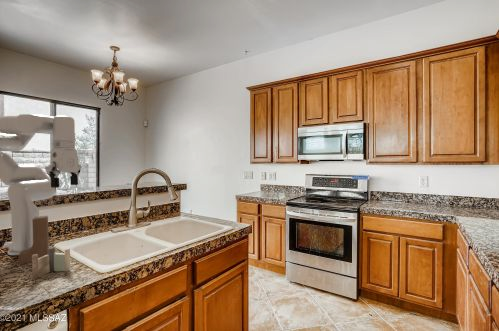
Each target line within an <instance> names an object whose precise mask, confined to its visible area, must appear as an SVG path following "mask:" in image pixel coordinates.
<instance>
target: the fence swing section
mask: <svg viewBox="0 0 499 331" xmlns="http://www.w3.org/2000/svg"><path fill="white" fill-rule="evenodd" d="M54 271H55V272H66V273H67V272H70V271H71V248H65V249H64V253H63V252H61V253H60V252H56V253H55V254H54Z"/></svg>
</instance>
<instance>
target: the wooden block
mask: <svg viewBox="0 0 499 331" xmlns="http://www.w3.org/2000/svg"><path fill="white" fill-rule="evenodd" d="M49 240H50V239H49V216H48V215H41V216H40V215H39V216H38V217H34V218H33V245H32V247H31V248H30V249H27V250H24V251H21V252H20V254H19V255H18V264H19V265H20V264H27V263H32V255H34V254H38V258H40V257H43V256H45V255H48V248H50V246H49V243H50V242H49Z"/></svg>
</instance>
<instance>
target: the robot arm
mask: <svg viewBox="0 0 499 331" xmlns="http://www.w3.org/2000/svg"><path fill="white" fill-rule="evenodd" d="M75 129H76V128H75V119H74V117H72V116H69V115H67V116H66V115H55V116H48V115H44V114H33V113H26V114H25V113H23V114H22V113H21V114H18V115H4V116H1V117H0V182H2V183H3V184H4V185H6V186H8V187H7V190H6V191H7V193H6V194H7V197H8V201H9V203H10V204H9V205H10V215H11V216H10V219H11V241H5V242H4V244H3V245H2V247H3V248H5V249H6V248H9V249H8V250H7V255H9V256H19V254H20V252H21V251H24V250H27V249H30V248H31V247H32V245H33V218H34V217H38V216H40V211H39V208H38V206H37V205H36V204H35V203H34V202H36V201H44V200H48V199H51V198H53V197H54V196H55V194H56V188H59V187H60V177H59V175H61V173H62V174H63V173H64V174H65V173H69V174H70V176H69V178H70V180H69V181H70V182H69V183H70V185H71V186H78V185H79V176H80V172H81V170H82V167H83V166H82V165H81V164H80V163H79V155H78V150H77V149H76V140H75V139H76V135H75V134H76V130H75ZM35 134H45V135H52V143H51V144H52V150H51V155H50V164H47V165H46V166H45V167H44V169H45V171H46V172H45V171H44V170H43V168H41V167H40V166H38V165H35V164H19V163H17V162H16V161H15V159H13V157H11V156H10V155H8V154H7V153H5V152H19V151H22V150H24V148H25V147H26V146H27V145H28V144H29V142H30V141H31V140H32V139H33V137H34V136H35Z"/></svg>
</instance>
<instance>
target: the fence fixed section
mask: <svg viewBox="0 0 499 331" xmlns="http://www.w3.org/2000/svg"><path fill="white" fill-rule="evenodd" d="M55 248H56V247H55V246H52V247H50V246H49V248H48V255H45V256H43V257H40V258H38V254H34V255H32V262H31V263H32V264H31V265H32V268H31V270H32V271H31V272H32V273H31V274H32V280H35V279H39V278H40V277H42V276H45V275H46V274H48V273H50V272H53V271H54V254H55V252H56V250H55Z"/></svg>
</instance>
